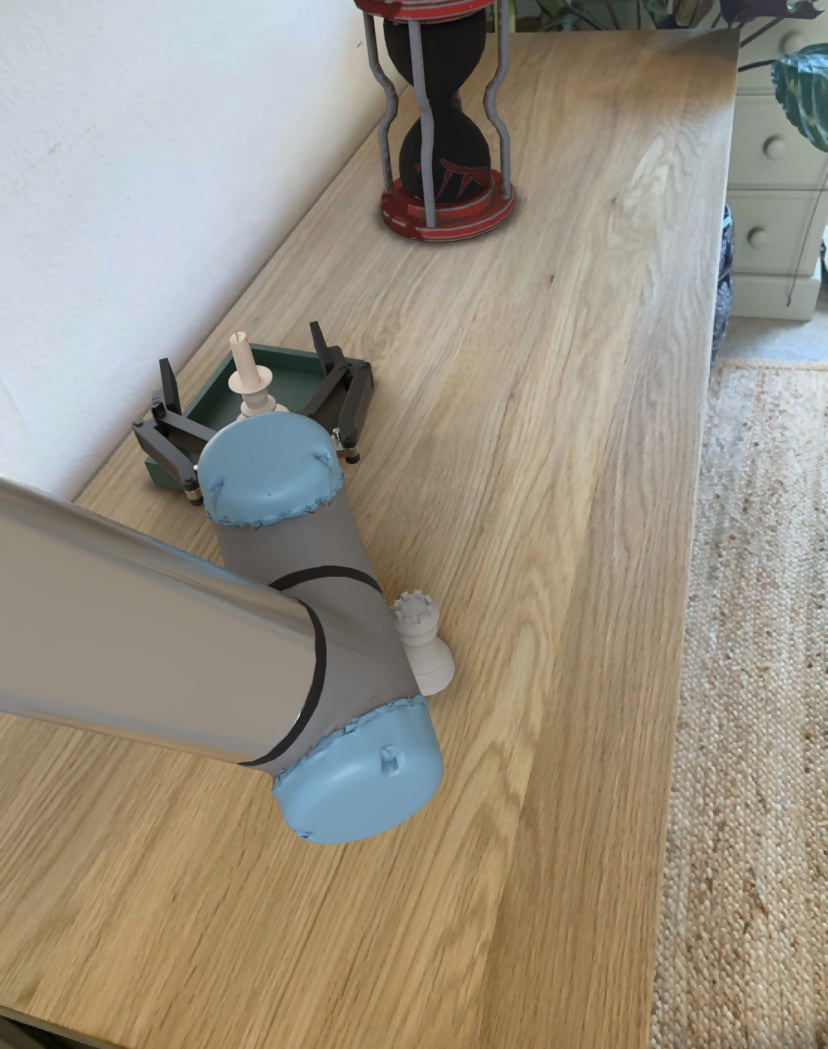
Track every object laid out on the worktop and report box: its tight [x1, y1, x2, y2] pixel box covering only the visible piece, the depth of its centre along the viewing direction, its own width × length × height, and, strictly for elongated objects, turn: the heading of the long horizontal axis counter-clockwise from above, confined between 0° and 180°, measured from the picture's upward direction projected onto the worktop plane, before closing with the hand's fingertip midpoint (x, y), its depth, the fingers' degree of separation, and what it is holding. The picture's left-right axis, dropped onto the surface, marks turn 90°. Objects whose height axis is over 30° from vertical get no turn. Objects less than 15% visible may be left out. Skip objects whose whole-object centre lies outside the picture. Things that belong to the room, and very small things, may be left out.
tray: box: [144, 342, 366, 492], centre depth 78 cm, size 18×14×3 cm
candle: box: [228, 331, 289, 420], centre depth 75 cm, size 5×5×10 cm
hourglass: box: [353, 0, 515, 243], centre depth 94 cm, size 16×16×25 cm
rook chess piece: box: [389, 589, 456, 697], centre depth 57 cm, size 4×4×8 cm
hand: (242, 352), depth 76 cm, fingers open, 13 cm apart
